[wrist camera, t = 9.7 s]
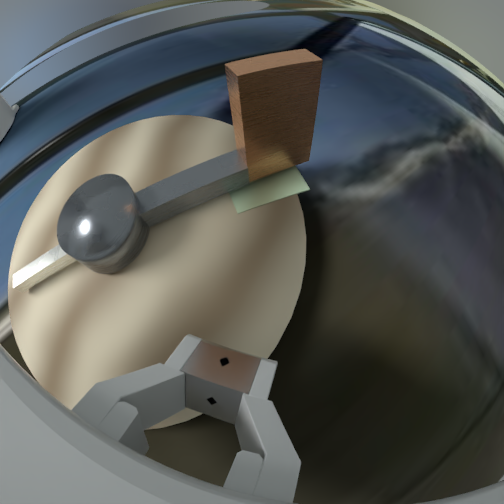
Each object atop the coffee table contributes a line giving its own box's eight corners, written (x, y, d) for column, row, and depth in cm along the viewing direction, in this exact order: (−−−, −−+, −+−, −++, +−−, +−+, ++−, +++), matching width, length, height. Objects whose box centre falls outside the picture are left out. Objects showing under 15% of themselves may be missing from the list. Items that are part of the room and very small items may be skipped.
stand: (-5, 330, 14) (-17, 326, 13) (100, 125, 22) (94, 115, 21) (236, 482, 10) (233, 493, 9) (329, 152, 18) (333, 137, 17)
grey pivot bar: (25, 319, 12) (-55, 285, 6) (21, 256, 14) (-42, 210, 8) (325, 181, 15) (348, 78, 9) (283, 129, 17) (285, 37, 10)
